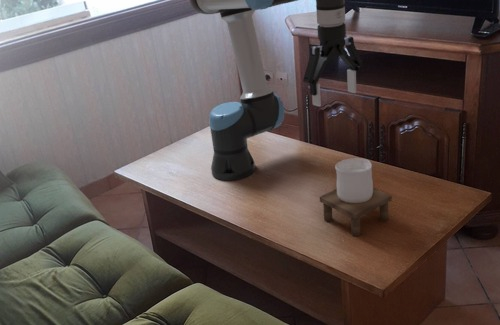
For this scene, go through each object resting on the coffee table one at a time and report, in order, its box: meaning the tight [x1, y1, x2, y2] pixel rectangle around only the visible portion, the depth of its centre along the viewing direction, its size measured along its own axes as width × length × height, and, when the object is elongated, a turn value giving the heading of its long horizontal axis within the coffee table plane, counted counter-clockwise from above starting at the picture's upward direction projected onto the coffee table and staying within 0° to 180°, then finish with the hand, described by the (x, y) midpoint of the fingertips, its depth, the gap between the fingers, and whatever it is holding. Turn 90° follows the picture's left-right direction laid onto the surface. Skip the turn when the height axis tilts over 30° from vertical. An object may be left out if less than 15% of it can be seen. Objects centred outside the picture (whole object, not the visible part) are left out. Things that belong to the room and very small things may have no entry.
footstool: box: [319, 187, 393, 238], centre depth 167 cm, size 14×14×8 cm
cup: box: [334, 157, 374, 203], centre depth 164 cm, size 10×10×10 cm
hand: (334, 98), depth 168 cm, fingers open, 13 cm apart
